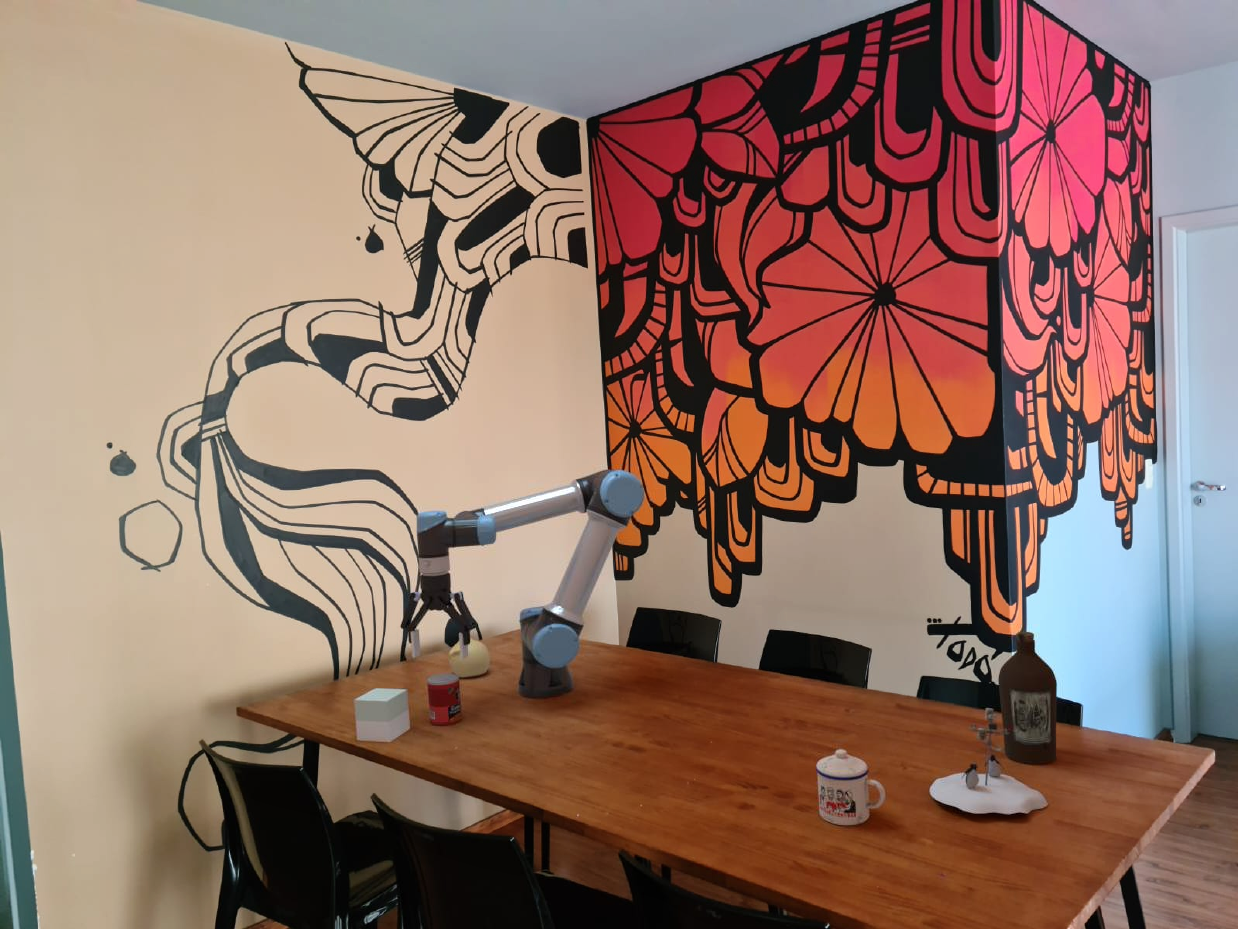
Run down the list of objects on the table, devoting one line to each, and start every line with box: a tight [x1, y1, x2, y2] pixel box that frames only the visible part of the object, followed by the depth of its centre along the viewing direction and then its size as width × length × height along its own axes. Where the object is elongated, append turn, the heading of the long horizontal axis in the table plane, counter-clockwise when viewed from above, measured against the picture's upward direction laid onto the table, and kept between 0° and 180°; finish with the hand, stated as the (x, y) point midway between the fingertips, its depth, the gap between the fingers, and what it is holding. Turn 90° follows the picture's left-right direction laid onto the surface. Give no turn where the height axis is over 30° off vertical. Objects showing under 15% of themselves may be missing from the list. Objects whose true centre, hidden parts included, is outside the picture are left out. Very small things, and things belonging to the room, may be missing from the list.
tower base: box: [355, 708, 411, 743], centre depth 213 cm, size 9×9×5 cm
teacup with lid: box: [815, 749, 886, 826], centre depth 154 cm, size 12×9×12 cm
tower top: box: [353, 687, 409, 722], centre depth 212 cm, size 9×9×5 cm
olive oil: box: [997, 631, 1058, 765], centre depth 175 cm, size 11×11×25 cm
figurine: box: [929, 707, 1049, 815], centre depth 158 cm, size 20×18×16 cm
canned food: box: [427, 673, 463, 727], centre depth 220 cm, size 8×8×11 cm
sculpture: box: [447, 637, 491, 678], centre depth 260 cm, size 12×12×11 cm
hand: (440, 657), depth 219 cm, fingers open, 13 cm apart
